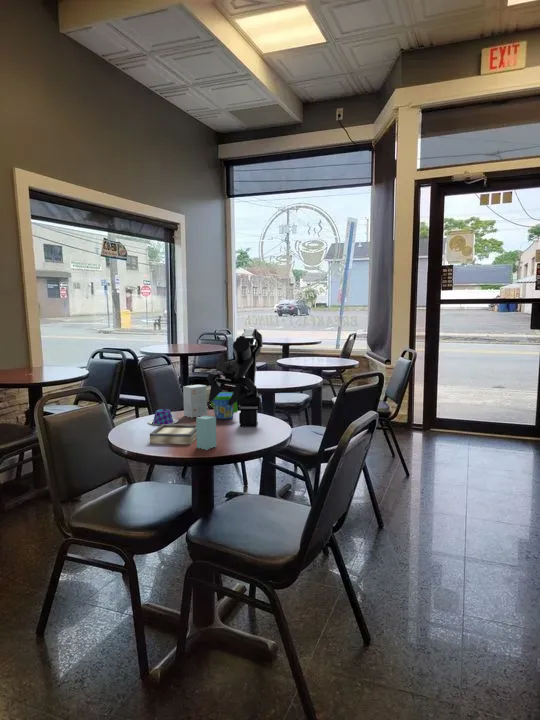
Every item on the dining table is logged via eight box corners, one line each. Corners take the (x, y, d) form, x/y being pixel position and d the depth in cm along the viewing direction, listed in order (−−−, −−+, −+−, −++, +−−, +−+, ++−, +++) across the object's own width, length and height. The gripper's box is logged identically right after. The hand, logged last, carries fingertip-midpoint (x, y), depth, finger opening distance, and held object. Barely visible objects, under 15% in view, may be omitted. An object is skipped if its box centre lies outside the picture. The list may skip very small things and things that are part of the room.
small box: (199, 413, 207) (198, 384, 206) (207, 415, 202) (207, 385, 201) (183, 416, 201) (182, 386, 200) (191, 418, 197) (191, 387, 196)
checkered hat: (162, 418, 198) (162, 406, 198) (184, 421, 192) (184, 409, 192) (141, 424, 188) (141, 411, 187) (164, 427, 182) (164, 414, 181)
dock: (200, 433, 171) (200, 424, 171) (190, 444, 157) (190, 434, 157) (162, 433, 172) (162, 424, 172) (150, 443, 159) (149, 433, 158)
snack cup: (245, 419, 195) (245, 395, 194) (223, 423, 188) (223, 397, 188) (225, 413, 207) (224, 390, 206) (204, 416, 201) (203, 392, 200)
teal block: (206, 444, 157) (206, 415, 156) (216, 446, 154) (215, 416, 154) (196, 447, 154) (196, 417, 153) (206, 450, 151) (206, 419, 150)
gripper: (209, 350, 167) (187, 386, 160) (249, 354, 155) (226, 392, 148) (225, 369, 174) (204, 404, 167) (264, 374, 162) (244, 412, 156)
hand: (219, 403), depth 159 cm, fingers open, 9 cm apart
